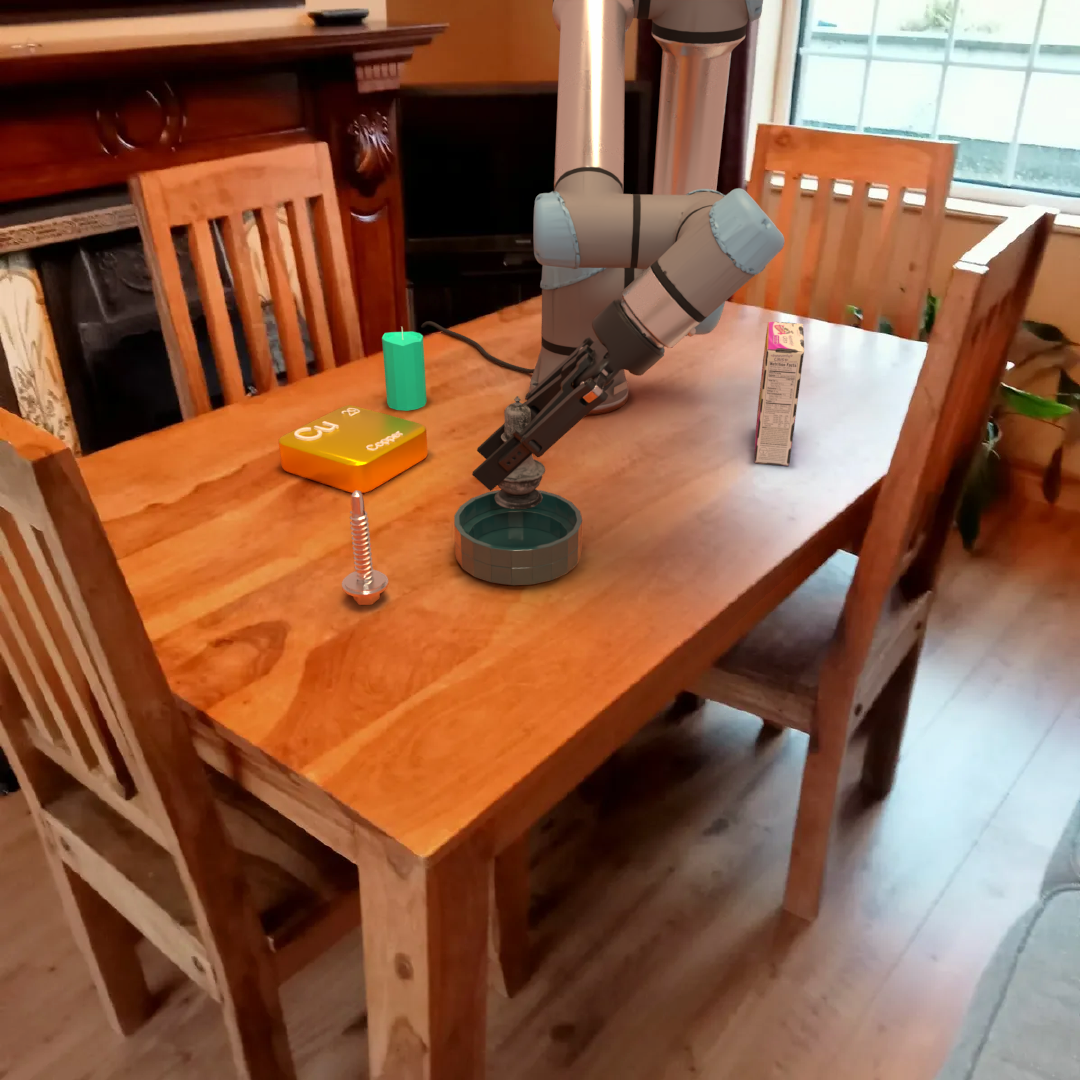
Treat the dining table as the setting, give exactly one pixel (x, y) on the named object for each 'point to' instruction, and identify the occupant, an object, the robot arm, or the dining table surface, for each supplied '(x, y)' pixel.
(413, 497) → the dining table surface
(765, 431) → the candy bar box
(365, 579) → the screw
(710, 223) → the robot arm
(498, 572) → the bowl
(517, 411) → the salt shaker
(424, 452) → the element tile
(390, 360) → the candle
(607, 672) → the dining table surface
